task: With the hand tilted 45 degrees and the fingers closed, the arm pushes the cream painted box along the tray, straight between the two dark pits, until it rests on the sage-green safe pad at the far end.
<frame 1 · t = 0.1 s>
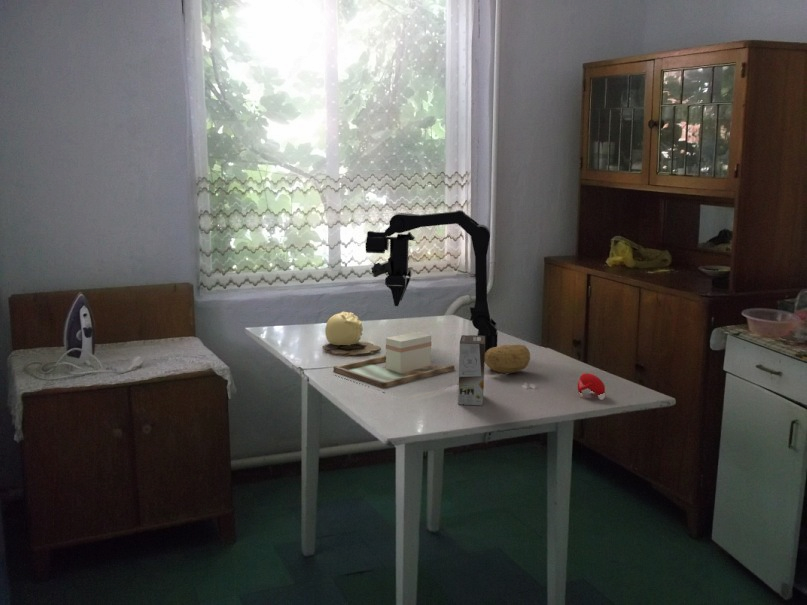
hand: (398, 303, 263), 15 cm above the table, tool pointing down, fingers open, 9 cm apart
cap: (590, 397, 219), on the table
coffee box: (470, 400, 215), on the table
potato: (506, 373, 240), on the table
sculpture: (344, 345, 270), on the table
tray: (395, 374, 237), on the table
cream block: (408, 367, 240), point 1 cm above the table, touching tray
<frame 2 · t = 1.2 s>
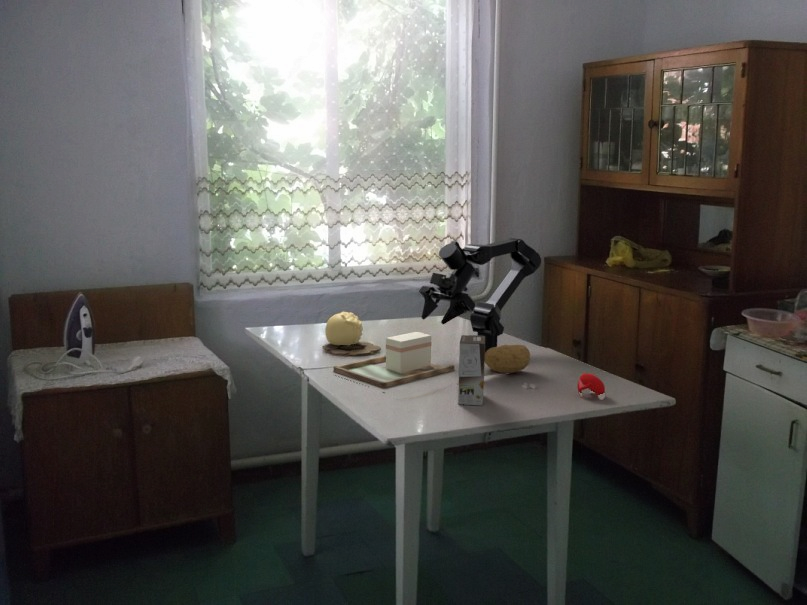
hand: (432, 321, 244), 13 cm above the table, tool tilted 45°, fingers open, 8 cm apart
nothing on the table moved.
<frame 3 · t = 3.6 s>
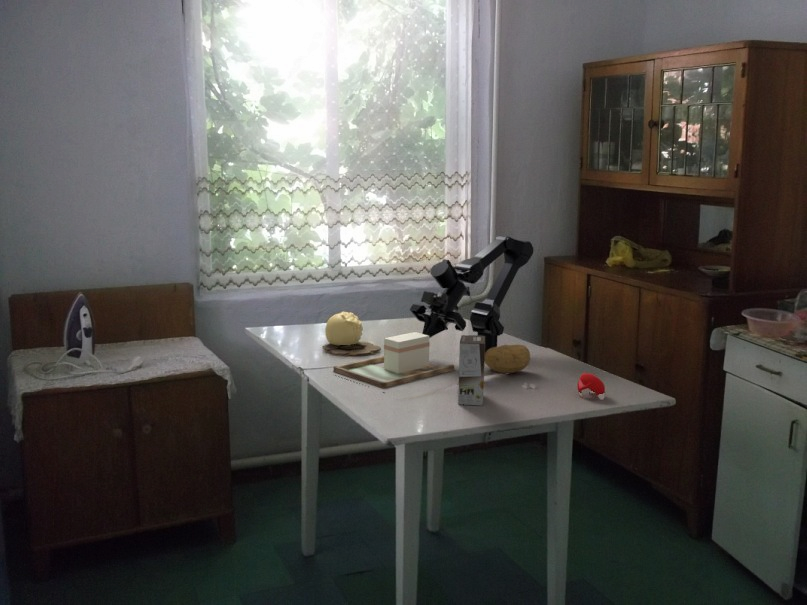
hand: (422, 339, 242), 8 cm above the table, tool tilted 45°, fingers closed, pressing on cream block
cream block: (406, 367, 239), point 1 cm above the table, touching gripper, tray
everything else where it was.
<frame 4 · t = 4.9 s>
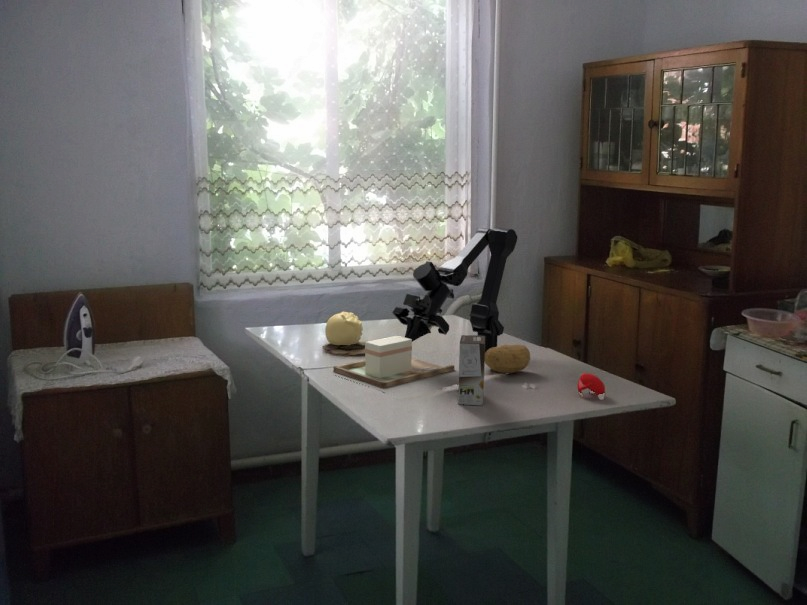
hand: (405, 343, 238), 8 cm above the table, tool tilted 45°, fingers closed
cream block: (388, 371, 235), point 1 cm above the table
everything else where it was.
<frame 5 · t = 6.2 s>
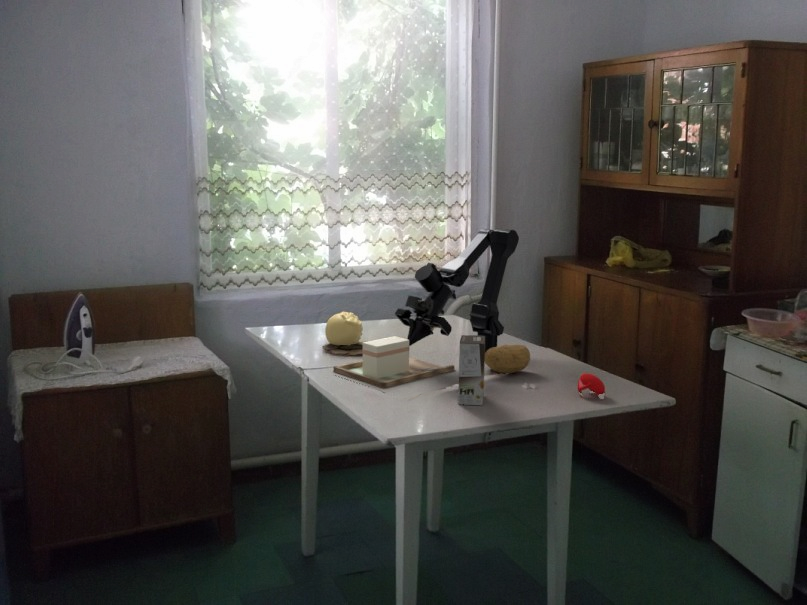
hand: (407, 345, 238), 8 cm above the table, tool tilted 45°, fingers closed
cream block: (385, 372, 234), point 1 cm above the table, touching tray
everything else where it was.
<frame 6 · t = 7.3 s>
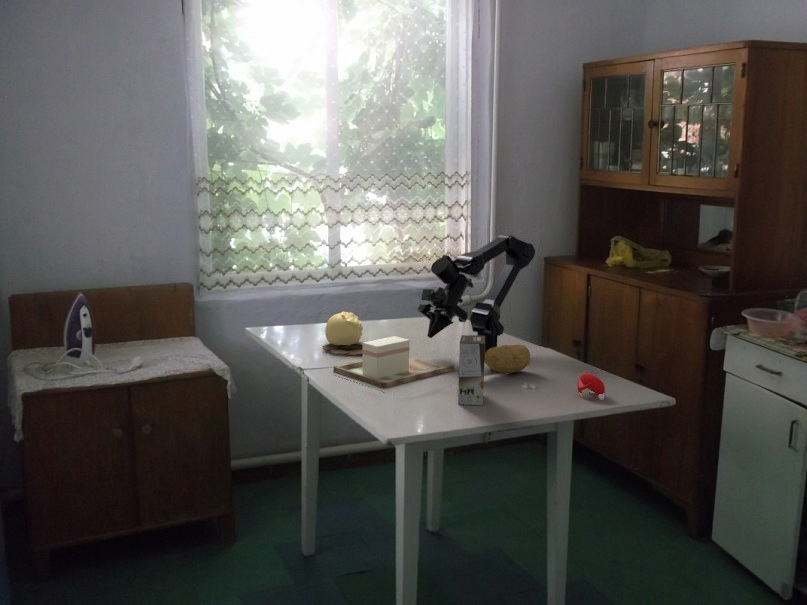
hand: (429, 337, 244), 9 cm above the table, tool tilted 40°, fingers closed
nothing on the table moved.
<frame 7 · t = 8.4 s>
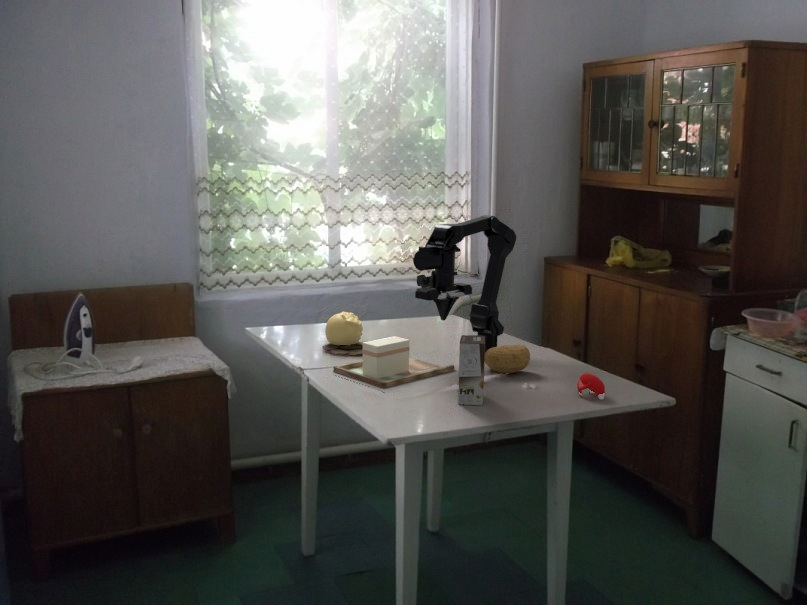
hand: (443, 320, 247), 13 cm above the table, tool pointing down, fingers closed
nothing on the table moved.
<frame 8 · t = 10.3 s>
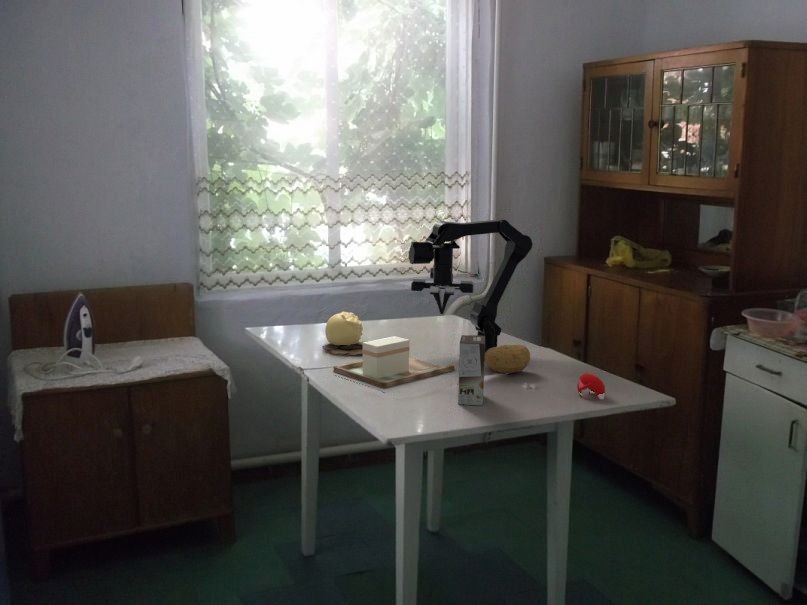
hand: (441, 313, 256), 13 cm above the table, tool pointing down, fingers closed
nothing on the table moved.
at the end: cream block inside the target area on the tray (3.4 cm from its centre), point 1.2 cm above the tray's base; cream block tilted 0°; cream block moved 8.7 cm from its start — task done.
